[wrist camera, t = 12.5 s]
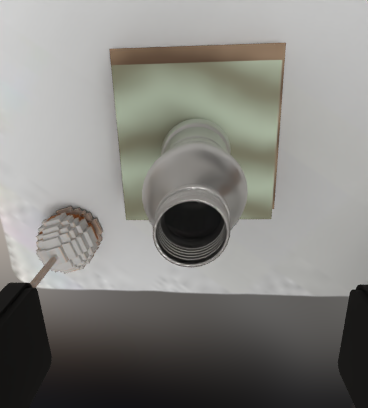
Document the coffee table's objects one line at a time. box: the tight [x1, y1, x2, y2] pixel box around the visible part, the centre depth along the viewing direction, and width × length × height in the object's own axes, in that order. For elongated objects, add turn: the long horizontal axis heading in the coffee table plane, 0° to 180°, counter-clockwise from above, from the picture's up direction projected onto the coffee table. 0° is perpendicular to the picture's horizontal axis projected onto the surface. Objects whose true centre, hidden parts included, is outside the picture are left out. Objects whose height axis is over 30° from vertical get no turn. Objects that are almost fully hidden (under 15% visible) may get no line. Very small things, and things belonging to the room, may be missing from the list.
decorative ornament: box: [30, 206, 103, 288], centre depth 43 cm, size 8×8×15 cm
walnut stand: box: [110, 43, 286, 220], centre depth 39 cm, size 20×20×10 cm
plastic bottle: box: [142, 119, 248, 267], centre depth 25 cm, size 6×7×20 cm
